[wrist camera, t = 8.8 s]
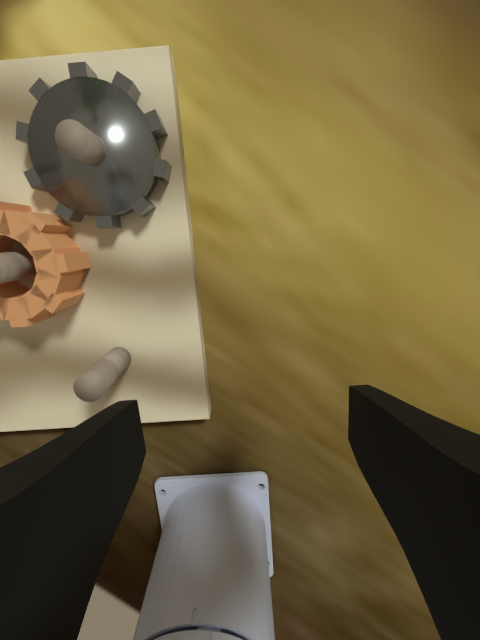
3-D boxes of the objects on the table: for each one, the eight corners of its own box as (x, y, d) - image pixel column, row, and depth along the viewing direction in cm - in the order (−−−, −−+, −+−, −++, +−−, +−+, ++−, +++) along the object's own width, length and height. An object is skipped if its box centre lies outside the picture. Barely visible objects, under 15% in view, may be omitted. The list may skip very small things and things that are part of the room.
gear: (178, 223, 17) (174, 222, 16) (51, 233, 17) (36, 232, 16) (160, 69, 15) (153, 55, 14) (18, 82, 15) (-1, 69, 14)
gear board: (211, 408, 21) (201, 462, 16) (-50, 425, 21) (-140, 482, 16) (173, 59, 16) (142, -24, 11) (-168, 89, 16) (-351, 22, 11)
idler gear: (99, 312, 18) (78, 322, 16) (-3, 319, 18) (-38, 330, 16) (78, 202, 16) (51, 196, 14) (-33, 211, 17) (-77, 206, 14)
